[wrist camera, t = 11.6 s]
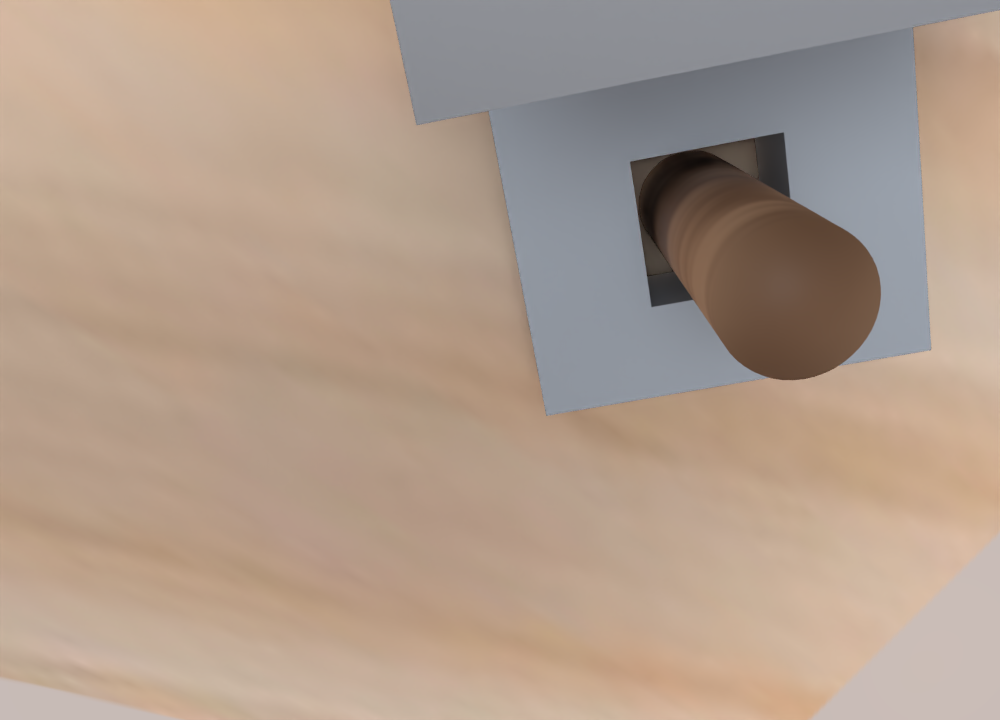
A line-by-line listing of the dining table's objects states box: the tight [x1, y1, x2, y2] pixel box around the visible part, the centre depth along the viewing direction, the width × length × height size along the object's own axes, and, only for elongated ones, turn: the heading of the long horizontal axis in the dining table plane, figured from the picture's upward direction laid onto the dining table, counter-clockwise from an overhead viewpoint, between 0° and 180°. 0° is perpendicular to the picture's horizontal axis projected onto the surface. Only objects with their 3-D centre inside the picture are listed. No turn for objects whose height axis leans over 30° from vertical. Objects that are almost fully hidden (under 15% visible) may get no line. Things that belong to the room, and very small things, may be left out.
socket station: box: [390, 0, 1000, 416], centre depth 26 cm, size 15×18×21 cm
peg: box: [639, 151, 881, 380], centre depth 30 cm, size 4×4×15 cm
